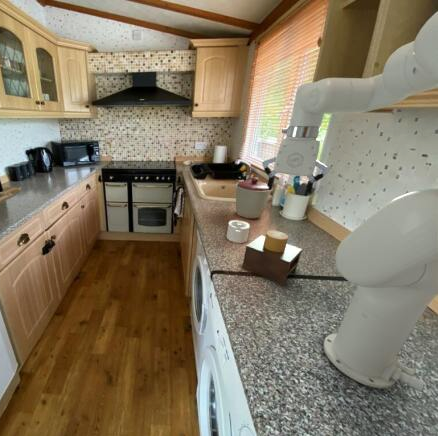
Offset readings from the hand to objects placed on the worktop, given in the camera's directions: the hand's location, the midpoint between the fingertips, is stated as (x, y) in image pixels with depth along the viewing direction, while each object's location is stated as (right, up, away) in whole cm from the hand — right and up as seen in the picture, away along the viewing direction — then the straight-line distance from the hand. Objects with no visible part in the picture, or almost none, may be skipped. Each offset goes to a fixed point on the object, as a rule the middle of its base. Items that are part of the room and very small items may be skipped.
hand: (287, 192), depth 74 cm
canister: (+13, -7, +59) cm, 61 cm away
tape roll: (0, -18, +8) cm, 20 cm away
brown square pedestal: (0, -26, +12) cm, 29 cm away
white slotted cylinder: (-1, -15, +39) cm, 42 cm away
